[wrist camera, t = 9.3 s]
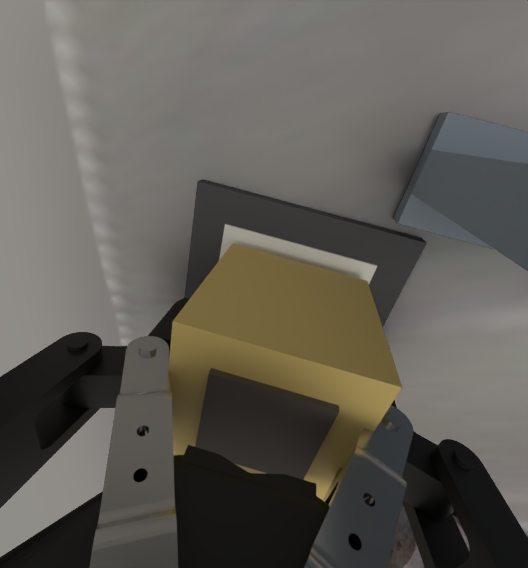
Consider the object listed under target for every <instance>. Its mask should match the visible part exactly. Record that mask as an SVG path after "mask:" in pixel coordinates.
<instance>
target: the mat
mask: <svg viewBox="0 0 528 568" xmlns="http://www.w3.org/2000/svg"><path fill="white" fill-rule="evenodd" d="M232 244H236V245H240V246H243V247H247V248H250V249H254V250H258V251H261V252H265V253H269V254H272V255H276V256H279V257H283V258H287V259H290V260H294V261H297V262H301V263H305V264H308V265H312V266H316V267H319V268H323V269H326V270H330V271H334V272H337V273H341V274H345V275H348V276H352V277H355V278H359V279H363V280H366V281H368V284H369V288H370V291H371V294H372V297H373V300H374V303H375V306H376V309H377V312H378V315H379V318H380V321H381V324H382V327H383V325H384V323H385V321H386V320H387V318H388V316H389V314H390V312H391V310H392V308H393V306H394V304H395V302H396V300H397V299H398V297H399V295H400V293H401V291H402V289H403V287H404V285H405V283H406V281H407V279H408V278H409V276H410V274H411V272H412V270H413V268H414V266H415V264H416V262H417V260H418V258H419V257H420V255H421V253H422V251H423V249H424V247H425V245H426V242H425V241H424V240H423V239H422V238H418V237H415V236H411V235H407V234H403V233H400V232H396V231H392V230H389V229H385V228H381V227H377V226H374V225H370V224H366V223H362V222H359V221H355V220H351V219H348V218H344V217H340V216H336V215H333V214H329V213H325V212H322V211H318V210H314V209H310V208H307V207H303V206H299V205H295V204H292V203H288V202H284V201H281V200H277V199H273V198H269V197H266V196H262V195H258V194H254V193H251V192H247V191H243V190H240V189H236V188H232V187H228V186H225V185H221V184H217V183H214V182H210V181H206V180H200V181H198V183H197V192H196V201H195V210H194V219H193V228H192V237H191V246H190V255H189V264H188V273H187V282H186V291H185V298H188V299H190V298H191V297H192V295H193V294H194V293H195V291H196V290H197V289H198V288H199V286H200V285H201V284H202V282H203V281H204V280H205V278H206V277H207V276H208V275H209V273H210V272H211V271H212V269H213V268H214V267H215V265H216V264H217V263H218V262H219V260H220V259H221V258H222V256H223V255H224V254H225V252H226V251H227V250H228V248H229V247H230V246H231V245H232Z"/></svg>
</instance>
